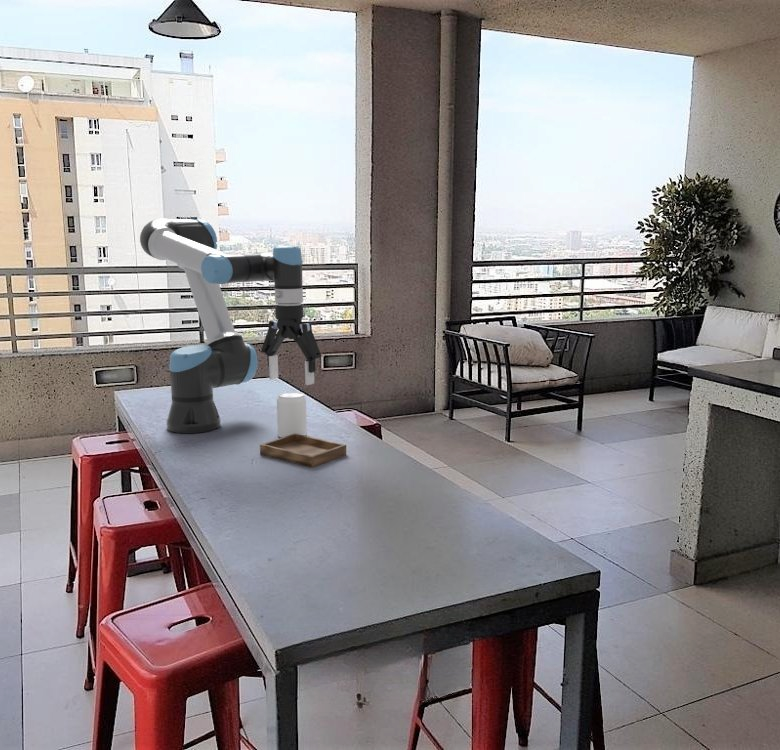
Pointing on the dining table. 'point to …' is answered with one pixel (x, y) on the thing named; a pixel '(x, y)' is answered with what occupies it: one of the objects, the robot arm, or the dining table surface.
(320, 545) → the dining table surface
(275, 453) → the walnut tray
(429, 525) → the dining table surface
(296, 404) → the beverage can
